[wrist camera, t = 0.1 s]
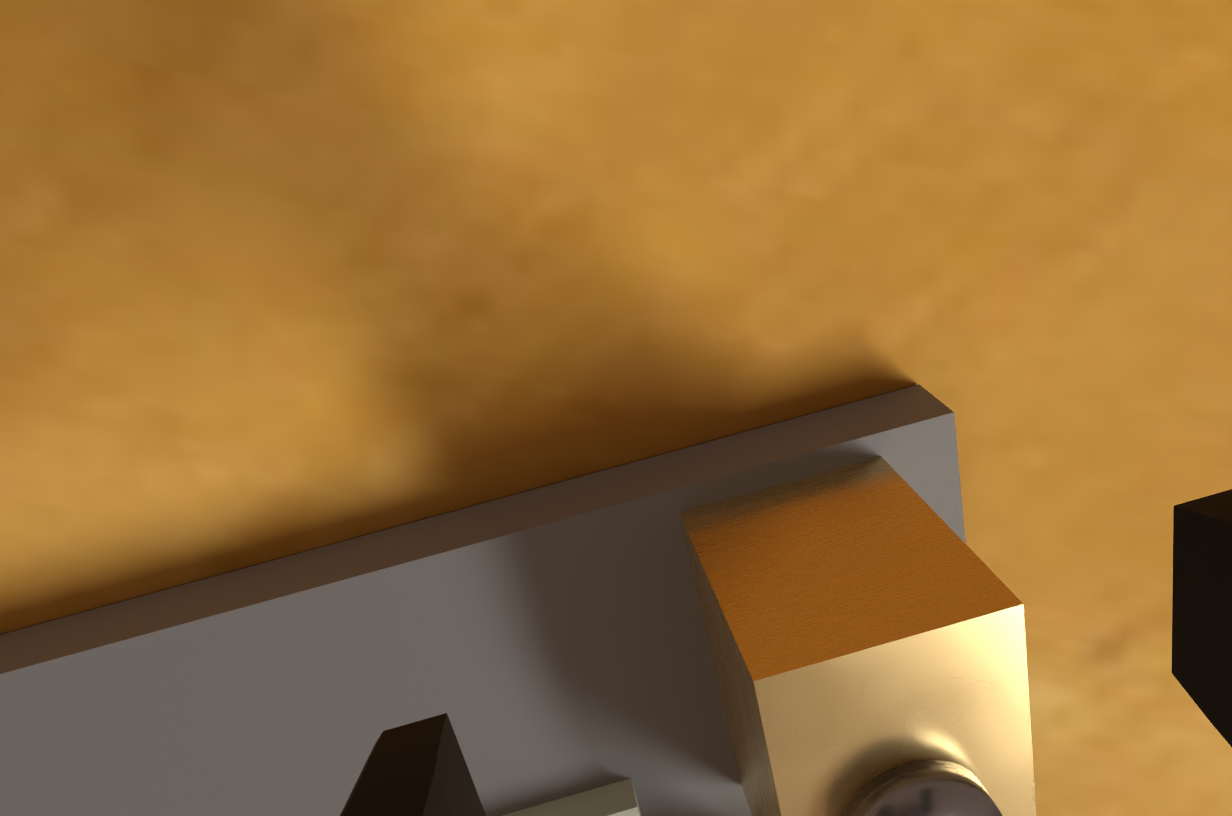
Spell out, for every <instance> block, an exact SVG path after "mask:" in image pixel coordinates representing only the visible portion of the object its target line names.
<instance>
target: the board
mask: <svg viewBox="0 0 1232 816" xmlns="http://www.w3.org/2000/svg"><path fill="white" fill-rule="evenodd" d="M880 456H882V457H883V459H884V460H885V461H886V462H887V463H888V464H889V465H890V466H891V467H892V468H893V469H894V470H895V471H896V472H897V473H898V474H899V475H900V476H901V477H902V478H903V479H904V480H905V481H906V482H907V484H908V485H909V486H910V487H911V488H912V489H913V490H914V491H915V492H916V493H917V494H918V495H919V496H920V497H921V498H922V499H923V500H924V501H925V502H926V503H927V504H928V505H929V506H930V507H931V508H932V510H933V511H934V512H935V513H936V514H937V515H938V516H939V517H940V518H941V519H942V520H943V521H944V522H945V523H946V524H947V525H948V526H949V527H950V528H951V529H952V530H953V531H954V532H955V533H956V535H957V536H958V537H959V538H960V539H961V540H962V541H963V542H964V543H965V533H964V521H963V510H962V499H961V487H960V476H959V464H958V453H957V441H956V430H955V419H954V412H953V411H952V410H950V409H949V408H948V407H947V406H945V405H944V404H943V403H942V402H940V401H939V400H938V399H937V398H935V397H934V396H933V395H932V394H930V393H929V392H928V391H927V390H925V389H924V388H923V387H922V386H920V385H915V386H912V387H908V388H904V389H901V390H897V391H893V392H889V393H886V394H882V395H878V396H875V397H871V398H867V399H864V400H860V401H856V402H853V403H849V404H845V405H842V406H838V407H834V408H831V409H827V410H823V411H820V412H816V413H812V414H809V415H805V416H801V417H798V418H794V419H790V420H787V421H783V422H779V423H776V424H772V425H768V426H765V427H761V428H757V429H754V430H750V431H746V432H743V433H739V434H735V435H732V436H728V437H724V438H721V439H717V440H713V441H710V442H706V443H702V444H699V445H695V446H691V447H688V448H684V449H680V450H677V451H673V452H669V453H666V454H662V455H658V456H655V457H651V458H647V459H644V460H640V461H636V462H633V463H629V464H625V465H622V466H618V467H614V468H611V469H607V470H603V471H600V472H596V473H592V474H589V475H585V476H581V477H578V478H574V479H570V480H567V481H563V482H559V483H556V484H552V485H548V486H544V487H541V488H537V489H533V490H530V491H526V492H522V493H519V494H515V495H511V496H508V497H504V498H500V499H497V500H493V501H489V502H486V503H482V504H478V505H475V506H471V507H467V508H464V509H460V510H456V511H453V512H449V513H445V514H442V515H438V516H434V517H431V518H427V519H423V520H420V521H416V522H412V523H409V524H405V525H401V526H398V527H394V528H390V529H387V530H383V531H379V532H376V533H372V534H368V535H365V536H361V537H357V538H354V539H350V540H346V541H343V542H339V543H335V544H332V545H328V546H324V547H321V548H317V549H313V550H310V551H306V552H302V553H299V554H295V555H291V556H288V557H284V558H280V559H277V560H273V561H269V562H266V563H262V564H258V565H255V566H251V567H247V568H244V569H240V570H236V571H233V572H229V573H225V574H222V575H218V576H214V577H211V578H207V579H203V580H200V581H196V582H192V583H188V584H185V585H181V586H177V587H174V588H170V589H166V590H163V591H159V592H155V593H152V594H148V595H144V596H141V597H137V598H133V599H130V600H126V601H122V602H119V603H115V604H111V605H108V606H104V607H100V608H97V609H93V610H89V611H86V612H82V613H78V614H75V615H71V616H67V617H64V618H60V619H56V620H53V621H49V622H45V623H42V624H38V625H34V626H31V627H27V628H23V629H20V630H16V631H12V632H9V633H5V634H1V635H0V816H340V814H341V812H342V810H343V808H344V806H345V804H346V802H347V800H348V798H349V796H350V794H351V792H352V790H353V788H354V786H355V784H356V782H357V780H358V778H359V775H360V773H361V771H362V769H363V767H364V765H365V763H366V761H367V759H368V757H369V755H370V753H371V751H372V749H373V747H374V745H375V743H376V742H377V740H378V738H379V737H380V735H381V734H382V732H383V731H385V730H389V729H392V728H396V727H399V726H403V725H406V724H410V723H413V722H417V721H420V720H424V719H427V718H431V717H434V716H438V715H441V714H445V713H447V715H448V717H449V720H450V722H451V725H452V728H453V730H454V733H455V735H456V738H457V741H458V743H459V746H460V749H461V751H462V754H463V756H464V759H465V762H466V764H467V767H468V770H469V772H470V775H471V777H472V780H473V783H474V785H475V788H476V790H477V793H478V796H479V798H480V801H481V804H482V806H483V809H484V811H485V814H486V816H752V813H751V811H750V808H749V805H748V802H747V800H746V797H745V794H744V791H743V789H742V786H741V782H740V778H739V773H738V769H737V764H736V760H735V756H734V751H733V747H732V743H731V738H730V734H729V729H728V725H727V721H726V716H725V712H724V707H723V703H722V699H721V694H720V690H719V685H718V681H717V677H716V672H715V668H714V664H713V659H712V655H711V650H710V646H709V642H708V637H707V633H706V628H705V624H704V620H703V615H702V611H701V607H700V602H699V598H698V593H697V589H696V585H695V580H694V576H693V571H692V567H691V563H690V558H689V554H688V549H687V545H686V541H685V536H684V532H683V528H682V523H681V519H680V514H679V512H681V511H684V510H688V509H692V508H695V507H699V506H703V505H706V504H710V503H713V502H717V501H721V500H724V499H728V498H732V497H735V496H739V495H742V494H746V493H750V492H753V491H757V490H761V489H764V488H768V487H771V486H775V485H779V484H782V483H786V482H790V481H793V480H797V479H800V478H804V477H808V476H811V475H815V474H819V473H822V472H826V471H829V470H833V469H837V468H840V467H844V466H848V465H851V464H855V463H858V462H862V461H866V460H869V459H873V458H877V457H880Z"/></svg>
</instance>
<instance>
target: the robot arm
mask: <svg viewBox="0 0 1232 816" xmlns="http://www.w3.org/2000/svg"><path fill="white" fill-rule="evenodd" d="M1172 674H1173V675H1174V676H1175V677H1176V679H1177V680H1178V681H1179V682H1180V684H1181V685H1182V686H1183V688H1184V689H1185V690H1186V691H1187V693H1188V694H1189V695H1190V696H1191V698H1192V699H1193V700H1194V702H1195V703H1196V704H1197V705H1198V707H1199V708H1200V709H1201V710H1202V712H1203V713H1204V714H1205V716H1206V717H1207V718H1208V719H1209V721H1210V722H1211V723H1212V724H1213V725H1214V727H1215V728H1216V729H1217V730H1218V731H1219V733H1220V734H1221V735H1222V736H1223V737H1224V738H1225V740H1226V741H1227V742H1228V743H1229V744H1230V746H1231V747H1232V489H1231V490H1228V491H1224V492H1221V493H1217V494H1214V495H1210V496H1207V497H1203V498H1200V499H1196V500H1193V501H1189V502H1186V503H1182V504H1179V505H1175V506H1174V533H1173V618H1172ZM340 816H486V814H485V811H484V809H483V806H482V804H481V801H480V798H479V796H478V793H477V790H476V788H475V785H474V783H473V780H472V777H471V775H470V772H469V770H468V767H467V764H466V762H465V759H464V756H463V754H462V751H461V749H460V746H459V743H458V741H457V738H456V735H455V733H454V730H453V728H452V725H451V722H450V720H449V717H448V715H447V713H445V714H441V715H438V716H434V717H431V718H427V719H424V720H420V721H417V722H413V723H410V724H406V725H403V726H399V727H396V728H392V729H389V730H385V731H383V732H382V734H381V735H380V737H379V738H378V740H377V742H376V743H375V745H374V747H373V749H372V751H371V753H370V755H369V757H368V759H367V761H366V763H365V765H364V767H363V769H362V771H361V773H360V775H359V778H358V780H357V782H356V784H355V786H354V788H353V790H352V792H351V794H350V796H349V798H348V800H347V802H346V804H345V806H344V808H343V810H342V812H341V814H340Z"/></svg>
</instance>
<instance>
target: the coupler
mask: <svg viewBox="0 0 1232 816" xmlns="http://www.w3.org/2000/svg"><path fill="white" fill-rule="evenodd" d="M679 514H680V519H681V523H682V528H683V532H684V536H685V541H686V545H687V549H688V554H689V558H690V563H691V567H692V571H693V576H694V580H695V585H696V589H697V593H698V598H699V602H700V607H701V611H702V615H703V620H704V624H705V628H706V633H707V637H708V642H709V646H710V650H711V655H712V659H713V664H714V668H715V672H716V677H717V681H718V685H719V690H720V694H721V699H722V703H723V707H724V712H725V716H726V721H727V725H728V729H729V734H730V738H731V743H732V747H733V751H734V756H735V760H736V764H737V769H738V773H739V778H740V782H741V786H742V789H743V791H744V794H745V797H746V800H747V802H748V805H749V808H750V811H751V813H752V816H1036V805H1035V789H1034V772H1033V756H1032V739H1031V723H1030V706H1029V690H1028V673H1027V656H1026V640H1025V623H1024V607H1023V603H1022V602H1021V601H1020V600H1019V599H1018V598H1017V597H1016V596H1015V595H1014V594H1013V593H1012V592H1011V591H1010V590H1009V589H1008V588H1007V587H1006V586H1005V584H1004V583H1003V582H1002V581H1001V580H1000V579H999V578H998V577H997V576H996V575H995V574H994V573H993V572H992V571H991V570H990V569H989V568H988V567H987V566H986V565H985V564H984V563H983V562H982V561H981V559H980V558H979V557H978V556H977V555H976V554H975V553H974V552H973V551H972V550H971V549H970V548H969V547H968V546H967V545H966V544H965V543H964V542H963V541H962V540H961V539H960V538H959V537H958V536H957V535H956V533H955V532H954V531H953V530H952V529H951V528H950V527H949V526H948V525H947V524H946V523H945V522H944V521H943V520H942V519H941V518H940V517H939V516H938V515H937V514H936V513H935V512H934V511H933V510H932V508H931V507H930V506H929V505H928V504H927V503H926V502H925V501H924V500H923V499H922V498H921V497H920V496H919V495H918V494H917V493H916V492H915V491H914V490H913V489H912V488H911V487H910V486H909V485H908V484H907V482H906V481H905V480H904V479H903V478H902V477H901V476H900V475H899V474H898V473H897V472H896V471H895V470H894V469H893V468H892V467H891V466H890V465H889V464H888V463H887V462H886V461H885V460H884V459H883V457H882V456H880V457H877V458H873V459H869V460H866V461H862V462H858V463H855V464H851V465H848V466H844V467H840V468H837V469H833V470H829V471H826V472H822V473H819V474H815V475H811V476H808V477H804V478H800V479H797V480H793V481H790V482H786V483H782V484H779V485H775V486H771V487H768V488H764V489H761V490H757V491H753V492H750V493H746V494H742V495H739V496H735V497H732V498H728V499H724V500H721V501H717V502H713V503H710V504H706V505H703V506H699V507H695V508H692V509H688V510H684V511H681V512H679Z"/></svg>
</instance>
